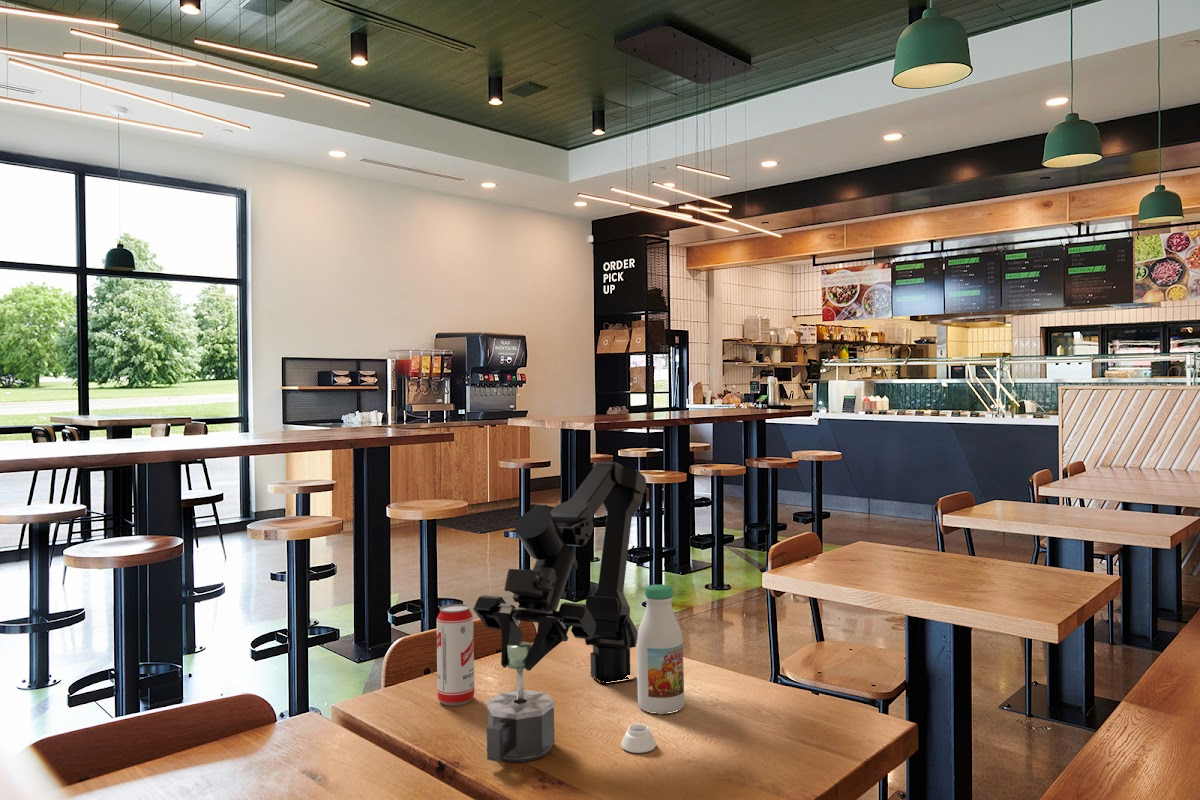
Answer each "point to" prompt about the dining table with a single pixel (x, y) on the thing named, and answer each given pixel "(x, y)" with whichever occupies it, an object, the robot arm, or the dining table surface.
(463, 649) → the beer can
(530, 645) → the plunger
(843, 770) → the dining table surface
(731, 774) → the dining table surface
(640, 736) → the white jar
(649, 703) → the milk bottle
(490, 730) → the grey octagonal canister
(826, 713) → the dining table surface
